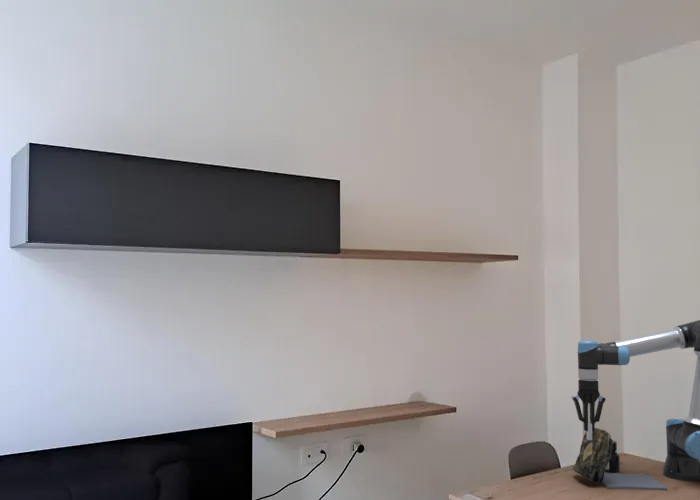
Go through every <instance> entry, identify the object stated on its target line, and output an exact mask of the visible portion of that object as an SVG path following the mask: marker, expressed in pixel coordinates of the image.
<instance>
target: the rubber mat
mask: <svg viewBox="0 0 700 500" xmlns="http://www.w3.org/2000/svg"><path fill="white" fill-rule="evenodd" d="M602 484H603V486H605V488H606V489H616V490H617V489H619V490H647V491H648V490H649V491H650V490H651V491H668V487H667V486H664V484H662V483H661V482H659V481H658V480H657V479H655V478H654V477H652V476H651V475H649V474H648V473H647V474H643V473H642V474H641V473H640V474H639V473H638V474H637V473H616V472H604V479H603V481H602ZM602 484H601V485H602Z"/></svg>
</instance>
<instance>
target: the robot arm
mask: <svg viewBox="0 0 700 500" xmlns="http://www.w3.org/2000/svg"><path fill="white" fill-rule="evenodd" d="M676 348H679V349H680V350H684V349H691V348H692V349H693V353H694V354H695V355H696V363H695V370H694V377H693V385H692V392H691V397H690V403H689V412H688V416H687V417H685V418H668V419H667V420H666V425H665V430H666V431H665V432H666V458H665V461H664V464H663V467H662V474H663V475H664V476H666V477H668V478H670V479H671V478H672V479H675V480H681V481H689V482H697V481H700V319H699V320H694V321H691V322H687V323H684V324H683V323H682V324H680V325H675V326H674V327H673V329H668V330H662V331H659V332H653V333H649V334H644V335H640V336H635V337H629V338H623V339H619V340H614V341H611V342H606V343H605V342H604V343H603V342H600V343H598V342H597V341H596V340H580V341H578V343H577V365H578V366H577V367H578V370H577V371H578V373H577V375H578V376H577V378H578V381H577V382H578V385H577V386H578V391H577V394H575V395H574V396H571V400H572V401H573V402H574V405H575V409H576V412H577V413H576V414H577V418H578V420H579V421H580V422H582V423H583V430H584V431H585V433H586V436H587V439H588V440H592V431H594V430H595V428H596V427H595V424H596V423H598V422H600V420H601V415H602V411H603V408H604V407H603V406H604V403H605V402H606V398H605V397H603V396H602V395H601V393H600V391H599V381H598V379H599V365H601V366H602V365H603V366H605V365H606V366H628V364H630V361H631V358H632V357H636V356H641V355H646V354H652V353H656V352H661V351H665V350H672V349H676ZM579 400H581V402H582V408H583V409H582V408H581V406H580V401H579ZM596 401H598V402H597V405H596ZM595 407H596V410H595ZM582 412H583V413H582Z"/></svg>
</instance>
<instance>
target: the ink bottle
mask: <svg viewBox="0 0 700 500" xmlns="http://www.w3.org/2000/svg"><path fill="white" fill-rule="evenodd" d="M612 446H613V449H612V454H611V459H610V460H609V462H608V464H607V466H606V468H605V470H604V471H605V472H604V473H619V472H620V471H621V461H620V460H621V459H620V458H621V456H620V454H619V453H618V452H617V450H618V442H617V441H616V440H613V445H612Z"/></svg>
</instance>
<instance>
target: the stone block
mask: <svg viewBox="0 0 700 500" xmlns="http://www.w3.org/2000/svg"><path fill="white" fill-rule="evenodd" d="M611 436H612V435H611V434H610V433H609V432H608V431H607V430H605V429H601V428H598V427H595V430H594V431H592V440H588V439H587V436H586V432H585V433H584V435H583V438H582V440H581V445H580V448H579V454H578V456H577V458H576V461H575V464H574V466H573V468H572V471H574V472H575V473H576V474H578V475H580V476H582V477H584V478H586V479H588V480H590V481H591V482H595V483H597V484H600V485H602V481H603V479H604V473H605V472H604V470H605V468H606V466H607V464H608V462H609V460H610V459H611V454H612V449H613V446H612V445H613V441H614V440H613V439H612V437H611Z"/></svg>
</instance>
